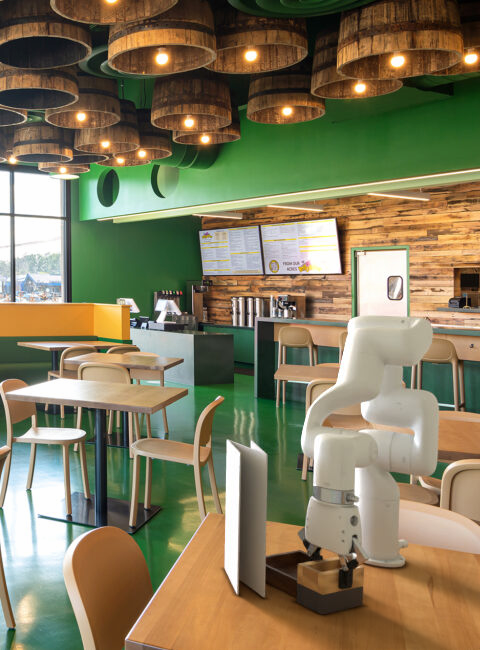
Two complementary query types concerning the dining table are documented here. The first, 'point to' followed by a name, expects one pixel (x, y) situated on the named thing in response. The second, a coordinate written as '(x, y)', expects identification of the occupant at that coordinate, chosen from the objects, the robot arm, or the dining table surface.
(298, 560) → the holder
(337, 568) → the frame top
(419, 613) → the dining table surface
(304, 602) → the frame low
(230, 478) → the brochure
